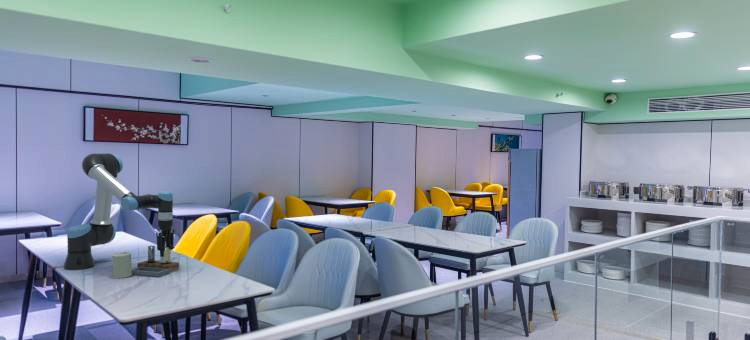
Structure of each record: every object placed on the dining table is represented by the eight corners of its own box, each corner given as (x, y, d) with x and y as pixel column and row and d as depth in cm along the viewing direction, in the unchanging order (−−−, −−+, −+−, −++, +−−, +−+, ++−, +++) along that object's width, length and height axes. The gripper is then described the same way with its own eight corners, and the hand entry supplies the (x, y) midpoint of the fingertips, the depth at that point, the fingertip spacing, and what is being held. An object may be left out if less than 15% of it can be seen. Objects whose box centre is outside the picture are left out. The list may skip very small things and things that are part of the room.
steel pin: (146, 269, 293) (146, 246, 293) (150, 268, 297) (150, 245, 296) (152, 270, 292) (152, 247, 292) (156, 268, 296) (156, 246, 295)
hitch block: (137, 270, 292) (137, 263, 291) (148, 267, 300) (148, 260, 300) (168, 273, 287) (168, 265, 287) (178, 269, 295) (178, 262, 295)
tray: (129, 274, 281) (129, 270, 281) (140, 271, 290) (140, 266, 290) (158, 277, 277) (158, 272, 277) (169, 273, 285) (169, 269, 285)
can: (135, 273, 282) (134, 251, 282) (125, 278, 273) (124, 255, 272) (119, 273, 283) (118, 251, 283) (109, 277, 274) (108, 255, 273)
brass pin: (160, 271, 291) (160, 247, 291) (164, 269, 295) (164, 246, 294) (166, 271, 290) (166, 248, 290) (170, 270, 294) (170, 247, 293)
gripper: (161, 221, 282) (161, 265, 283) (180, 218, 299) (180, 259, 299) (149, 221, 284) (149, 264, 285) (169, 217, 300) (168, 258, 301)
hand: (165, 261), depth 292 cm, fingers closed on brass pin, 4 cm apart
